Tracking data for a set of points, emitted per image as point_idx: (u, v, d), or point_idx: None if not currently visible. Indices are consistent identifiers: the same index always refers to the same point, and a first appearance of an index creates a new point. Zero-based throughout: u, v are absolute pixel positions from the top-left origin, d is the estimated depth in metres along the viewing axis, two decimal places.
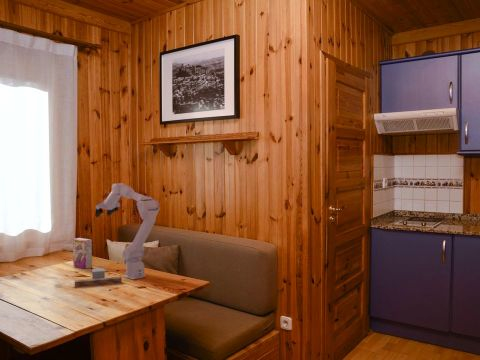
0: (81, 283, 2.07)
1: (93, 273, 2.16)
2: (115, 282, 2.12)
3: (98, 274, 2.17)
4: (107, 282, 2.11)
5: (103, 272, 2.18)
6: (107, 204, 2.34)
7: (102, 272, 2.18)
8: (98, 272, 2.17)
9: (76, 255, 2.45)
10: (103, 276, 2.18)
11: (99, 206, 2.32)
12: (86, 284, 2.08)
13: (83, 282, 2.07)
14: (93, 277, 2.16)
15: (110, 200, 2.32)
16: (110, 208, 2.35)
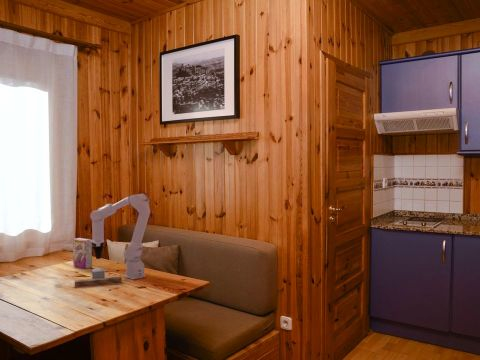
0: (81, 283, 2.07)
1: (93, 273, 2.16)
2: (115, 282, 2.12)
3: (98, 274, 2.17)
4: (107, 282, 2.11)
5: (103, 272, 2.18)
6: (100, 237, 2.27)
7: (102, 272, 2.17)
8: (98, 272, 2.17)
9: (76, 255, 2.45)
10: (103, 276, 2.18)
11: (98, 242, 2.23)
12: (86, 284, 2.08)
13: (83, 282, 2.07)
14: (93, 277, 2.16)
15: (98, 231, 2.26)
16: (103, 240, 2.29)
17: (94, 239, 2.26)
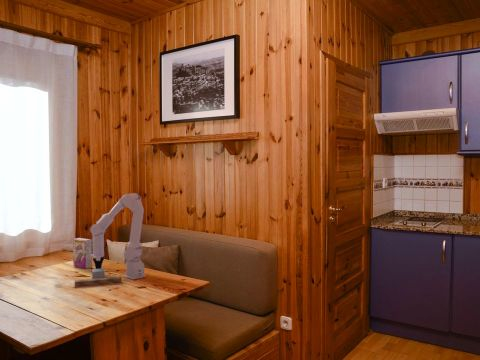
0: (81, 283, 2.07)
1: (93, 273, 2.16)
2: (115, 282, 2.12)
3: (98, 274, 2.17)
4: (107, 282, 2.11)
5: (103, 272, 2.18)
6: (100, 251, 2.27)
7: (102, 272, 2.17)
8: (98, 272, 2.17)
9: (76, 255, 2.45)
10: (103, 276, 2.18)
11: (98, 257, 2.23)
12: (86, 284, 2.08)
13: (83, 282, 2.07)
14: (93, 277, 2.16)
15: (98, 245, 2.26)
16: (103, 253, 2.29)
17: (94, 253, 2.26)
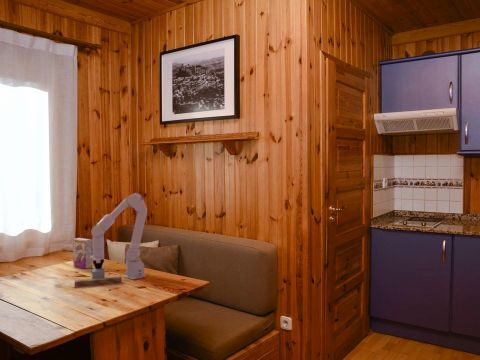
0: (81, 283, 2.07)
1: (93, 273, 2.16)
2: (115, 282, 2.12)
3: (98, 274, 2.17)
4: (107, 282, 2.11)
5: (103, 272, 2.17)
6: (100, 253, 2.21)
7: (102, 272, 2.17)
8: (98, 272, 2.17)
9: (76, 255, 2.45)
10: (103, 276, 2.17)
11: (98, 259, 2.18)
12: (86, 284, 2.08)
13: (83, 282, 2.07)
14: (93, 277, 2.16)
15: (99, 246, 2.21)
16: (103, 256, 2.24)
17: (94, 255, 2.21)
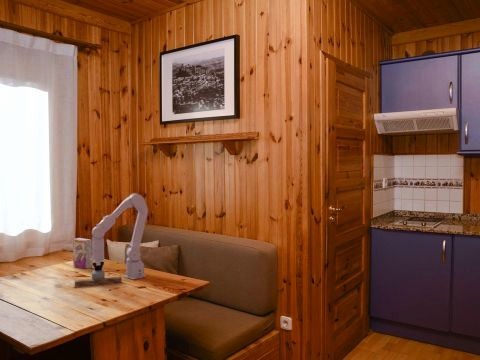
0: (81, 283, 2.07)
1: (93, 275, 2.11)
2: (115, 282, 2.12)
3: (98, 276, 2.12)
4: (107, 282, 2.11)
5: (103, 274, 2.13)
6: (100, 255, 2.16)
7: (102, 274, 2.13)
8: (98, 274, 2.12)
9: (76, 255, 2.45)
10: None
11: (98, 261, 2.12)
12: (86, 284, 2.08)
13: (83, 282, 2.07)
14: None
15: (101, 248, 2.16)
16: (103, 258, 2.18)
17: (94, 257, 2.16)
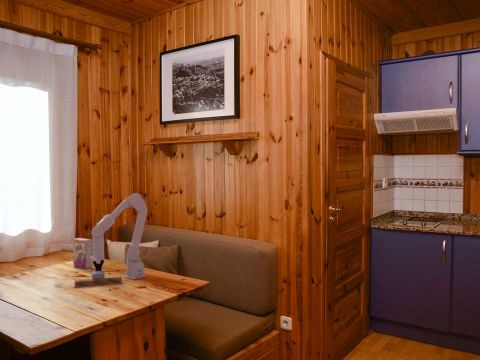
0: (81, 283, 2.07)
1: (93, 275, 2.11)
2: (115, 282, 2.12)
3: (98, 276, 2.12)
4: (107, 282, 2.11)
5: (103, 274, 2.13)
6: (100, 254, 2.20)
7: (102, 274, 2.13)
8: (98, 274, 2.12)
9: (76, 255, 2.45)
10: None
11: (98, 259, 2.17)
12: (86, 284, 2.08)
13: (83, 282, 2.07)
14: None
15: (100, 247, 2.20)
16: (103, 256, 2.23)
17: (94, 256, 2.20)
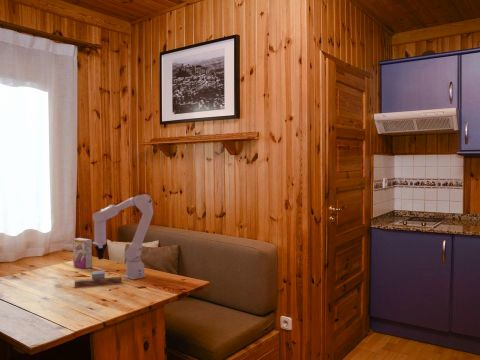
0: (81, 283, 2.07)
1: (93, 275, 2.11)
2: (115, 282, 2.12)
3: (98, 276, 2.12)
4: (107, 282, 2.11)
5: (103, 274, 2.13)
6: (102, 239, 2.25)
7: (102, 274, 2.13)
8: (98, 274, 2.12)
9: (76, 255, 2.45)
10: None
11: None
12: (86, 284, 2.08)
13: (83, 282, 2.07)
14: None
15: (100, 232, 2.24)
16: (105, 241, 2.27)
17: (96, 241, 2.24)
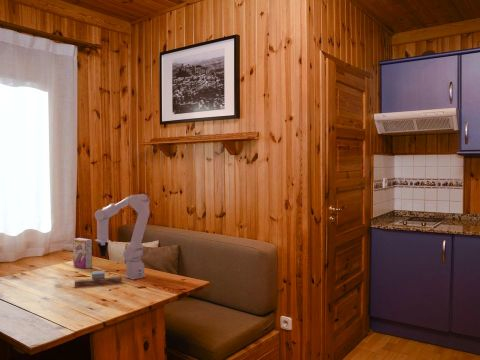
0: (81, 283, 2.07)
1: (93, 275, 2.11)
2: (115, 282, 2.12)
3: (98, 276, 2.12)
4: (107, 282, 2.11)
5: (103, 274, 2.13)
6: (105, 236, 2.30)
7: (102, 274, 2.13)
8: (98, 274, 2.12)
9: (76, 255, 2.45)
10: None
11: (103, 241, 2.26)
12: (86, 284, 2.08)
13: (83, 282, 2.07)
14: None
15: (101, 230, 2.29)
16: None
17: (99, 238, 2.29)
